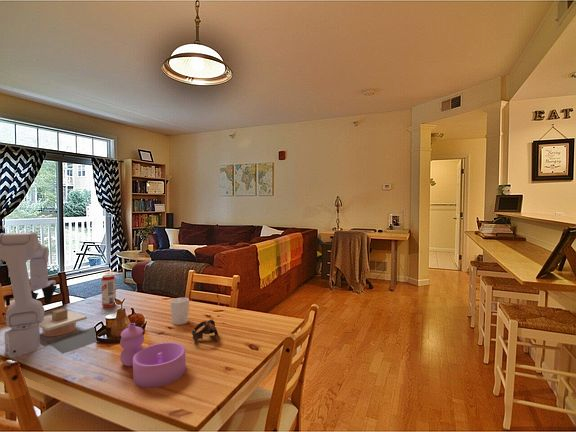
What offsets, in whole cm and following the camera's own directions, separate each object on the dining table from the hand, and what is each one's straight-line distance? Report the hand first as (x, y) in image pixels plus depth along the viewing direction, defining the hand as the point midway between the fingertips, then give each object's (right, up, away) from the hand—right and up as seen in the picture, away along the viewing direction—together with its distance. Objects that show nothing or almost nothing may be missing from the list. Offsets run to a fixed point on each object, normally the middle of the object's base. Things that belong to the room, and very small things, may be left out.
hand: (40, 306), depth 128 cm
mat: (+23, -11, -8) cm, 27 cm away
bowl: (+9, -10, -1) cm, 14 cm away
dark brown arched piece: (+73, -11, -8) cm, 74 cm away
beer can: (+11, -9, +30) cm, 34 cm away
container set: (+60, -12, -30) cm, 68 cm away
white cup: (+56, -10, +9) cm, 58 cm away
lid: (+9, -6, -1) cm, 11 cm away
